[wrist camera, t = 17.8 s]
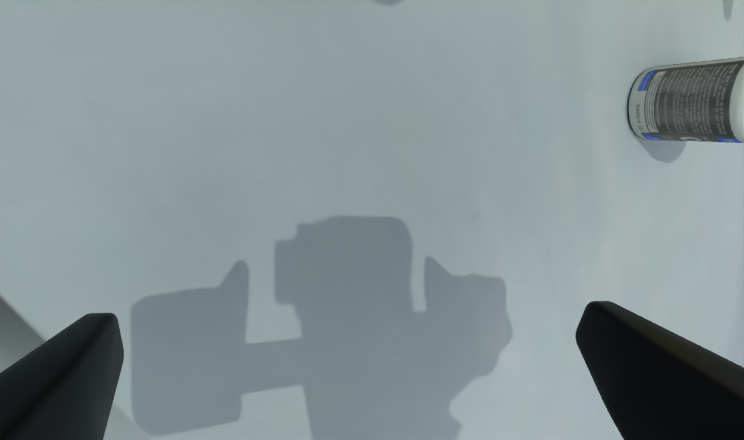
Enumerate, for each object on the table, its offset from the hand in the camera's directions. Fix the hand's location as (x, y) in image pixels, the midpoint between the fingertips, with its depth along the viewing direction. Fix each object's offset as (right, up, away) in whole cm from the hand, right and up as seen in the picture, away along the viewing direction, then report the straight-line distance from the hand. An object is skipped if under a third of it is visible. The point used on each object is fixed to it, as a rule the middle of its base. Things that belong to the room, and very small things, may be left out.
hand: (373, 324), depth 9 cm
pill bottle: (+18, +10, +22) cm, 30 cm away
